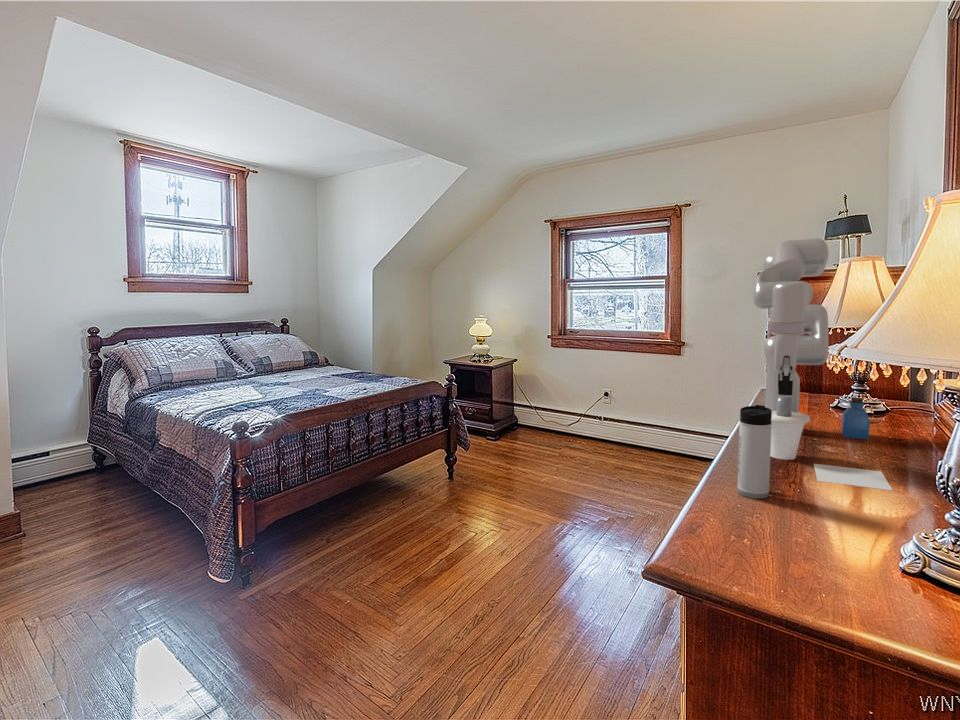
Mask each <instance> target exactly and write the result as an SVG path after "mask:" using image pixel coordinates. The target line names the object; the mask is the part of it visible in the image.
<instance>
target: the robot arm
mask: <svg viewBox="0 0 960 720" xmlns="http://www.w3.org/2000/svg"><path fill="white" fill-rule="evenodd" d="M829 252H830V251H829V246H828V244H827V242H826V241H825V240H823V239H822V238H807V239H806V238H805V239H793V240H792V239H791V240H786V241H782V242H780V243H779V244H777V245H776V246H775V247H774V249H773V252H772V253H771V254H770V255H768V256H766V257H764V261H763V267H762V268H763V270H761V271H760V272H759V274H757V276H756V277H755V280H754V284H753V293H752V298H753V303H754V305H755V306H756V307H757V308H759V309H763V310H765V309H767V310H768V309H769V310H770V330H771V331H770V334H771V335H772V336H770V337H768V338H767V339H766V340H765V341H764V346H763V349H764V350H763V351H764V358H765V368H766V369H765V371H766V373H765V374H766V375H765V399H764V401H765V405H764V406H765V407H766V408H769V409H771V410H772V411H777V397H778V396H788V397H792V412H797V413H800V412H799V409H800V386H801V385H800V384H801V379H800V376H799V374H798V373H797V371H796V368H797V367H796V366H797V365H799V366H802V365H804V366H820V365H823V364H825V363H826V362H827V360H828V358H829V316H828V311H827V309H826V307H824V306H823V305H821V304H814V303H813V304H810V303H811V302H812V301H813V296H814V290H813V286H811V284H810V283H808V282H807V281H805V280H804V281H803V280H801V279H802V278H804V277H817V276H818V277H819V276H821V275H822V274H823V273H824V271H825V270H826V266H827V263H828V260H829ZM805 334H808V335H805ZM803 432H804V429H803V430H802V433H803Z"/></svg>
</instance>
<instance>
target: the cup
mask: <svg viewBox="0 0 960 720" xmlns="http://www.w3.org/2000/svg"><path fill="white" fill-rule="evenodd" d="M771 423H772V425H771V452H770V458H771V457H772V458H774V459H778V460H783V461H784V460H786V461H788V460H789V461H790V460H795V459H796V457H797V454H798V450H799V449H798V448H799V445H800V442H801V441H800V440H801V437H802V433H803V432H802V430H803V431H804V425H805V424H782V423H774V422H771Z"/></svg>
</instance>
